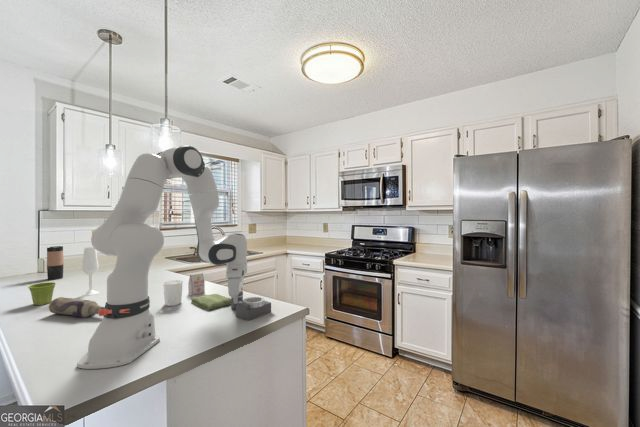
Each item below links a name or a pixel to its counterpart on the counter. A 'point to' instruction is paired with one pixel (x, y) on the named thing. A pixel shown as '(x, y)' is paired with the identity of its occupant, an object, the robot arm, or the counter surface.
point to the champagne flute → (90, 266)
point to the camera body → (252, 308)
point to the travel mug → (55, 262)
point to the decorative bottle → (74, 307)
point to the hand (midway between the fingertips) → (236, 300)
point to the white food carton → (196, 284)
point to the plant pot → (42, 293)
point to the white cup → (172, 292)
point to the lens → (240, 298)
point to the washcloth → (211, 301)
